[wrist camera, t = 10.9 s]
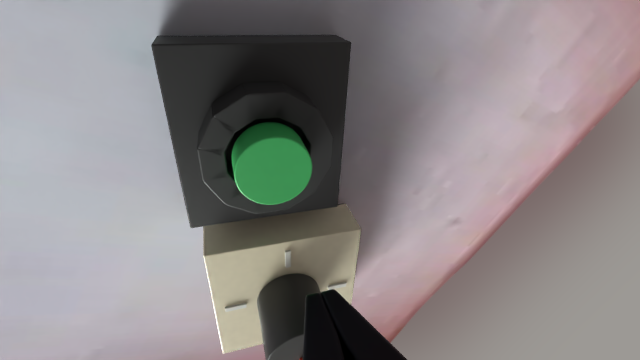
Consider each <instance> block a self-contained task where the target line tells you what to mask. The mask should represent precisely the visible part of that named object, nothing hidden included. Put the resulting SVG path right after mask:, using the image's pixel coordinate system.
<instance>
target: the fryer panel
mask: <svg viewBox="0 0 640 360" xmlns="http://www.w3.org/2000/svg"><path fill="white" fill-rule="evenodd" d="M360 235H361V228H360V227H359V225H358V223H357V222H356V220H355V218H354V217H353V215H352V213H351V212H350V210H349V208H348V207H347V205H346V204H341V205H338V206H337V207H332V208H325V209H318V210H311V211H305V212H298V213H291V214H284V215H277V216H270V217H264V218H257V219H250V220H243V221H236V222H229V223H222V224H216V225H209V226H203V256H204V261H205V266H206V271H207V276H208V281H209V286H210V291H211V296H212V301H213V306H214V312H215V317H216V322H217V327H218V332H219V337H220V342H221V347H222V352H223V353H228V352H232V351H236V350H240V349H244V348H248V347H252V346H256V345H260V344H263V338H262V332H261V326H260V319H259V313H258V307H257V298H258V295H259V293H260V291H261V290H262V289H263V288H264V287H265V286H266V285H267V284H268V283H269V282H271V281H272V280H274V279H276V278H278V277H281V276H284V275H288V274H305V275H308V276H310V277H312V278H313V279H314V280H315V281H316V282H317V284H318V286H319V289H320V292H322V291H327V290H331V289H334V290H336V291H337V292H338V293H339V294H340V295H341V296H342V297H343V298H344V299H345V300H346V301H347V302H348V303H349V304H350V305H351V301H352V294H353V287H354V279H355V272H356V264H357V257H358V250H359V242H360Z"/></svg>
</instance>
